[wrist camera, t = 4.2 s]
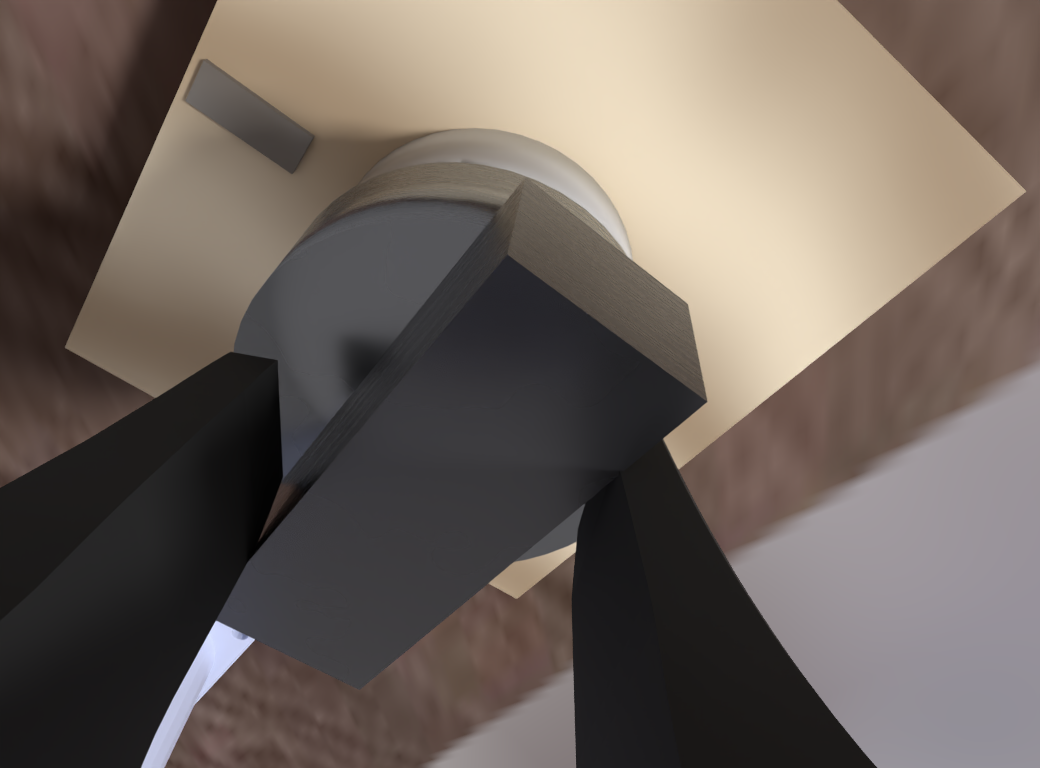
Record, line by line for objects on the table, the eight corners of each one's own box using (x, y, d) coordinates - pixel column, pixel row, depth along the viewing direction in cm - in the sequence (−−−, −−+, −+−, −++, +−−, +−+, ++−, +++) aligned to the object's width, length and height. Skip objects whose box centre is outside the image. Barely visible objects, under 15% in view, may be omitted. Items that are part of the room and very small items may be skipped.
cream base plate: (522, 541, 21) (509, 667, 18) (115, 301, 17) (2, 403, 14) (975, 152, 14) (1093, 243, 10) (438, -387, 10) (362, -502, 7)
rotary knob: (758, 304, 11) (824, 488, 8) (454, 571, 15) (414, 764, 12) (429, 36, 9) (338, 130, 6) (185, 420, 13) (54, 599, 10)
